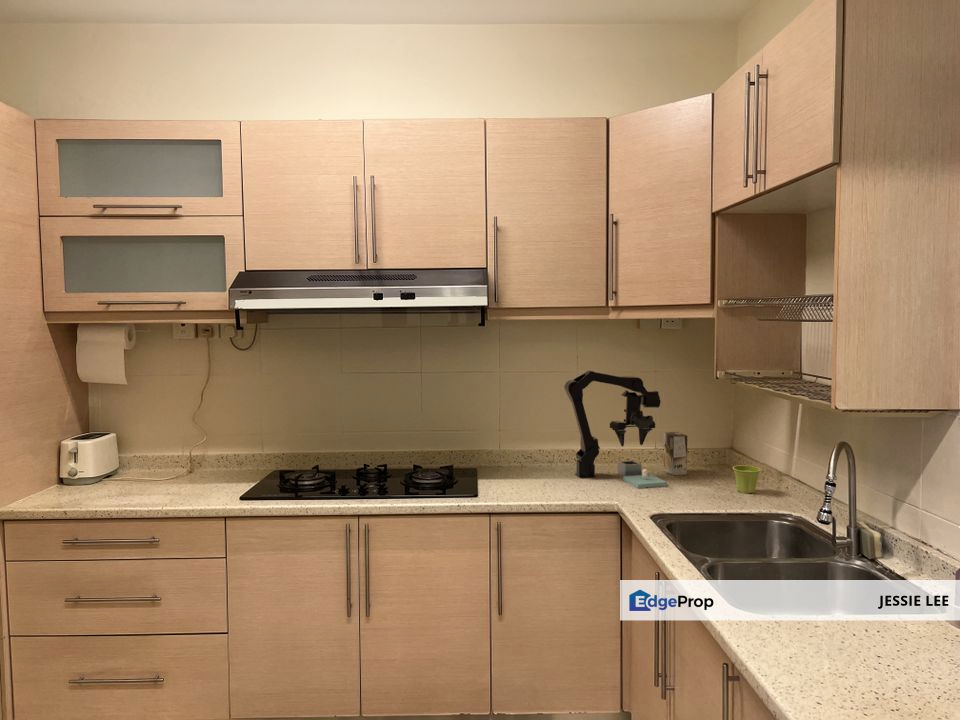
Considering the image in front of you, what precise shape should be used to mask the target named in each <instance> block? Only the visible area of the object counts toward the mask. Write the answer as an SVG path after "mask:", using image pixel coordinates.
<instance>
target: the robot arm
mask: <svg viewBox="0 0 960 720" xmlns="http://www.w3.org/2000/svg"><path fill="white" fill-rule="evenodd" d="M593 382H599V383H602V384H603V383H604V384H608V385H614V386H618V387H622V388H624V389H627V390H624V392H622V393H621V394H620V395H621V397H625V398H626V400H625V408H624V409H623V413H625V418H624V419H623V421H621V420H611V421H610V422H609V429H611V430H612V431H614V432H615V435H616V437H617V439H618V441H619V443H620V446H621V447H625V434H626V432H627V430H626V429H627V428H636V427H637V429H638V437H639V438H638V440H639V445H640V446H643V445H644V442H645V439H646V437H647V435H648V433H650V432H651V431H653V429H656V423H655V420H654V417H653V416H652V415H647V416H646V415H644V412H643V410H641V407H642V406H643V408H647V409H649V408H651V409H652V408H653V409H655V408H656V409H657V408H660V406H661V397H660V394H659V391H658V390H652V391H651V390H650V391H648V390H647V388H646V387H645V386H644V381H643V379H642V378H640V377H637V376H632V375H625V376H624V375H623V376H621V375H620V376H619V375H613V374H608V373H602V372H597V371H593V370H587V371H585V372H584V373H582V374H580V375H579V376H577V377H575V378H573V379H570V380H567V381H566V382H565V384H564V386H563V387H564V391H565V394H566V395H567V398H568V399H569V400H570V402H571V404H572V408H573V411H574V416H575V419H576V420H575V421H576V424H577V426H578V431H579V434H580V435H579V436H580V448H579V450H578V451H577V452H576V453H575V455H574V456H576V459H577V460H576V472H574V475H575V476H576V477H578V478H580V479H586V478H587V479H588V478H596V466H595V465H596V464H595V459H596V458H597V457H598V456H599V454H600V449H601V447H600V446H599V439H598V438H597V437H595V436H593V435H592V432H591V428H590V424H589V422H588V417H587V413H586V410H585V406H584V403H583V401H584V399H583V398H584V392H583V390H584V389H585V388H587V387H588V386H589V385H590V384H591V383H593ZM630 391H632V392H630ZM637 393H638V394H637Z"/></svg>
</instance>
